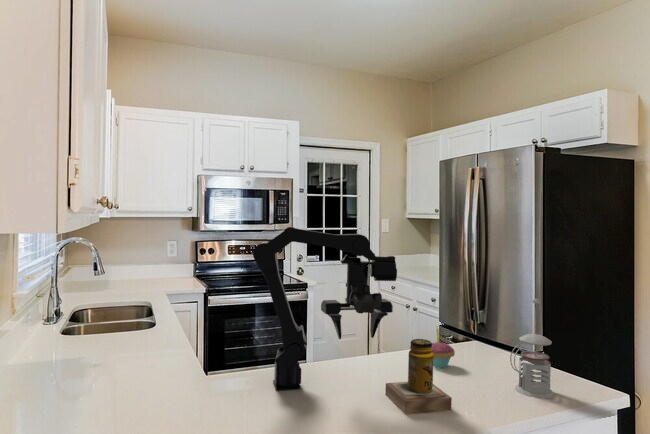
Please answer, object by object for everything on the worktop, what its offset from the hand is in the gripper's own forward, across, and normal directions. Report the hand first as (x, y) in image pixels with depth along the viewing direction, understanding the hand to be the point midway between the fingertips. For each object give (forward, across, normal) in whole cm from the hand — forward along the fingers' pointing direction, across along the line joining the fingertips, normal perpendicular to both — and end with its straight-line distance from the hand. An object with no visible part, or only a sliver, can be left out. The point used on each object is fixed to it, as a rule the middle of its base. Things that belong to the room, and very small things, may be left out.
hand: (356, 338), depth 122 cm
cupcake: (+13, +32, +12) cm, 37 cm away
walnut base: (+13, +12, -13) cm, 22 cm away
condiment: (+10, +12, -13) cm, 20 cm away
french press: (+13, +46, -12) cm, 49 cm away
